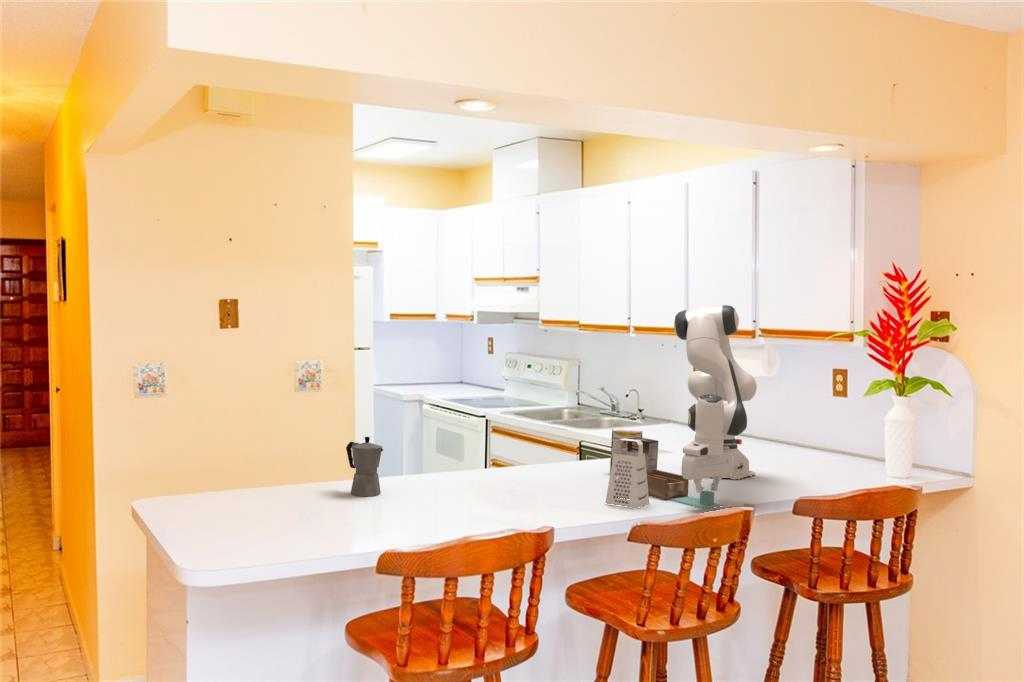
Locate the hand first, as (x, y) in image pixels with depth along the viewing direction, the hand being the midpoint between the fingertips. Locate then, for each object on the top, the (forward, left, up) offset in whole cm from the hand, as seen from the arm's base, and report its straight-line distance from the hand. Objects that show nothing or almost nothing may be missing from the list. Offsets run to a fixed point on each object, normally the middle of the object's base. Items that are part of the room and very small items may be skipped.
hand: (706, 491), depth 283 cm
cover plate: (0, -4, -5) cm, 6 cm away
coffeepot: (+85, -65, -5) cm, 107 cm away
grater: (+20, -14, -5) cm, 25 cm away
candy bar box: (-14, -50, -5) cm, 53 cm away
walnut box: (0, -20, -5) cm, 21 cm away
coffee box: (-5, -33, -5) cm, 34 cm away
